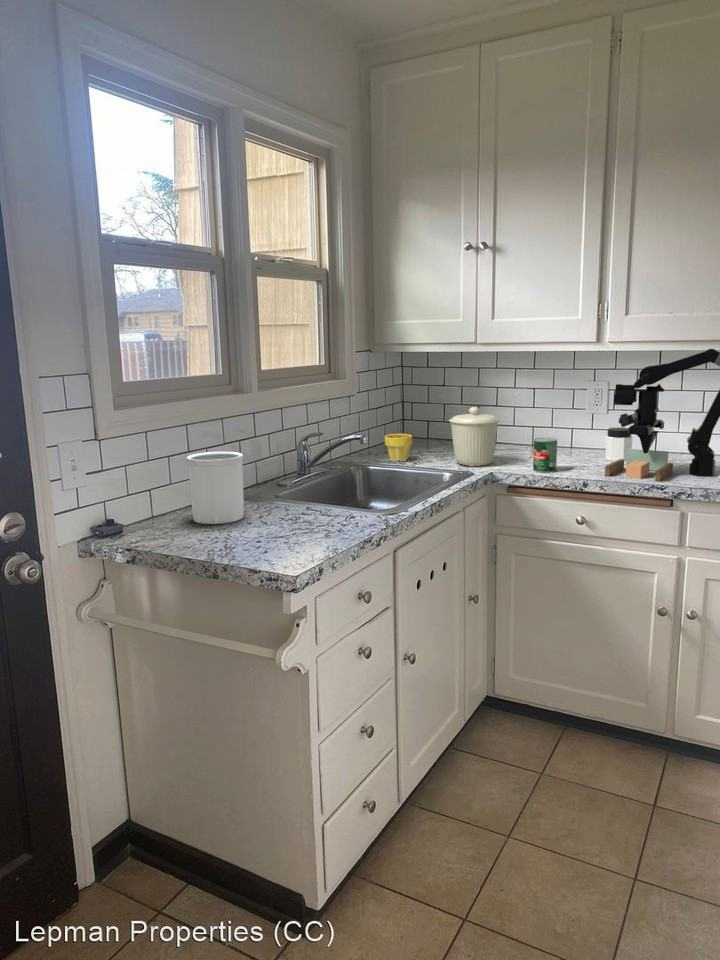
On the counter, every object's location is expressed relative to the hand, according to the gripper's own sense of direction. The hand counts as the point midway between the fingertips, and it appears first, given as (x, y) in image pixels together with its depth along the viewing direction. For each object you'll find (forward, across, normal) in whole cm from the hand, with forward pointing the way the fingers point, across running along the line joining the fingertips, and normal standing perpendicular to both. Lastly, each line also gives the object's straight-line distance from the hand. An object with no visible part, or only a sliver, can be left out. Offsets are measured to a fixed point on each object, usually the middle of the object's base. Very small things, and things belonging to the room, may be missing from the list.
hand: (645, 453), depth 237 cm
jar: (+8, -20, -15) cm, 26 cm away
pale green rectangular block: (+6, -2, 0) cm, 7 cm away
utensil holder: (+7, +113, -80) cm, 139 cm away
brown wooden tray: (+7, +6, 0) cm, 9 cm away
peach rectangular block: (+6, +7, 0) cm, 9 cm away
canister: (+7, +9, -58) cm, 59 cm away
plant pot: (+7, +17, -86) cm, 88 cm away
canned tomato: (+8, +8, -31) cm, 33 cm away
